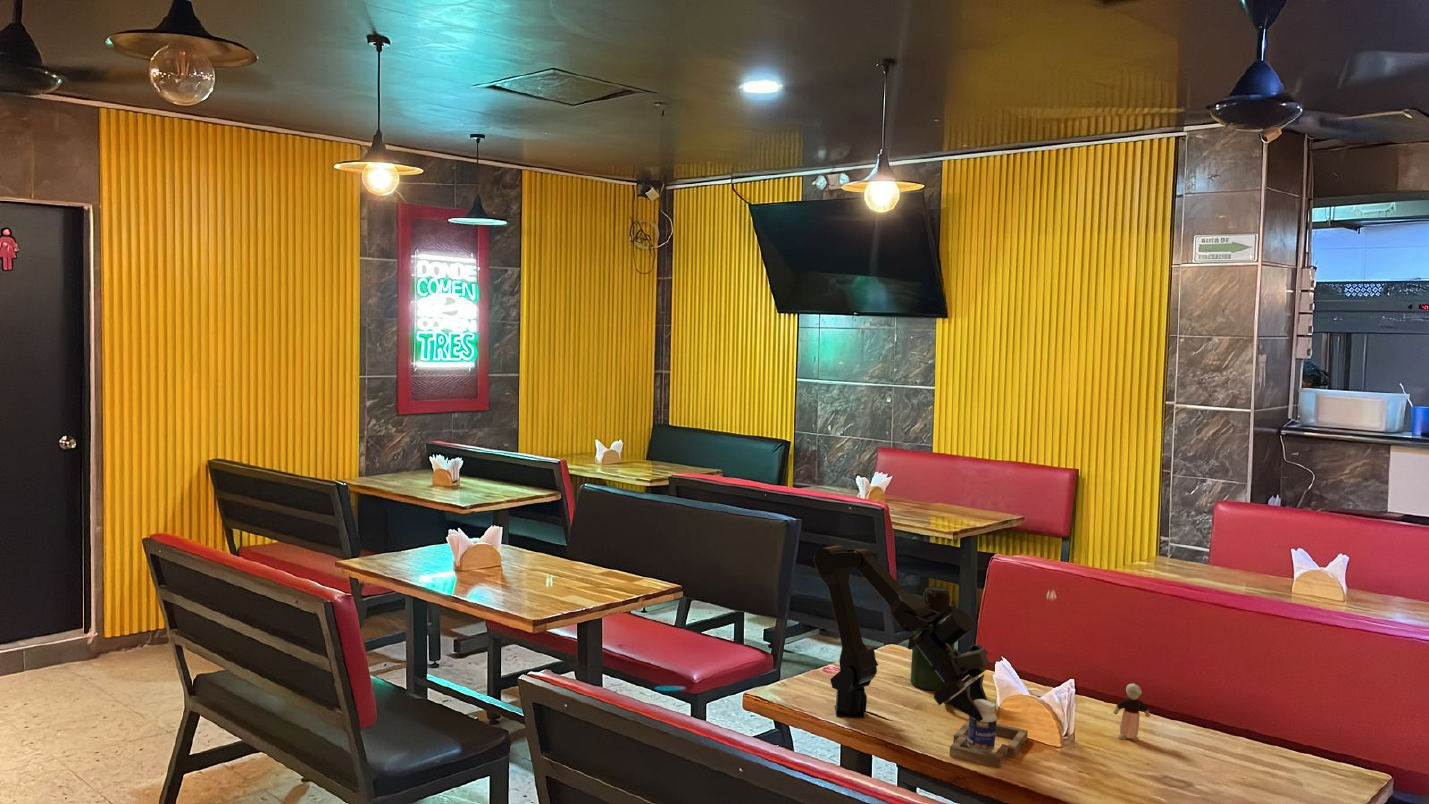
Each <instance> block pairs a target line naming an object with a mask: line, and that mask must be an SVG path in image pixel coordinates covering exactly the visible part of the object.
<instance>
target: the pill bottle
mask: <svg viewBox="0 0 1429 804" xmlns="http://www.w3.org/2000/svg"><path fill="white" fill-rule="evenodd" d="M973 702H974V703H975V705H976V707H977V708H978V710H979V712H980V714H981V715H982V717H983V719H982V720H981V721H977V720H975V719H974V718H972V717H970V716H969V715H968V720H969V726H968V738H967V747H969V748H970V749H973V750H977V751H981V752H991V751H994V749H995V746H996V745H995V743H996V735H995V734H996V724H997V722H998V721H997V720H998V717H997V715H996V714H995V710H996V703H995V702H993V701H990V700H988V699H987V700H984V699H976V700H974V701H973Z"/></svg>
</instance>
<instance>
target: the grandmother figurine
mask: <svg viewBox="0 0 1429 804" xmlns="http://www.w3.org/2000/svg"><path fill="white" fill-rule="evenodd" d="M1125 690H1126V694H1127V697H1124V698H1123V699H1121V700H1120V701H1119V702H1118V703H1117V704H1116V707H1115V708H1114V710H1113V712H1112V713H1113V714H1114V715H1118V714H1119V712H1120V711H1121V710H1122V709H1123V712H1122V716H1121V720H1120V721H1121V722H1120V727H1119V734H1118V735H1117V739H1120V740H1127V739H1129V740H1130V741H1133V742H1139V741H1138V740H1139V737H1138V735H1139V729H1140V728H1139V727H1140V711H1141V712H1143V714H1144V716H1145V718H1150V717H1151V714H1150V711H1149V707H1148V705H1147V704H1146V703H1144V702H1143V701H1142V700H1140V699H1138V698H1139V697H1140V696H1141V695H1142V693H1143V692H1142V691H1143V690H1142V689H1141V687H1140V686H1139V685H1138V684H1136V683H1129V684H1127V686H1126V688H1125Z"/></svg>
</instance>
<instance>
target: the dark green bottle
mask: <svg viewBox="0 0 1429 804" xmlns="http://www.w3.org/2000/svg"><path fill="white" fill-rule="evenodd" d="M949 592H950V591H949V590H948V589H947V588H945V587H942V586H938V585H937V586H934V585H933V586H932V585H930V586H927V587H926V588H925V589H924V591H923V595H922V601H923V602H924V603H925V604H927V605H928V606H929V607H930V609H931V610H933V611H935V612H938V613H940V614H941V613H942V612H943V611H944V610H945V609H946V608H947V607H948V606H950V603H951V602H950V601H951V596H950V593H949ZM925 629H928V630H932V629H934V628H933V626H930V627H927V628H923V629H919V630H916V631H913V632H912V635H913V634H915V635H918V634H919V633H921V632H922V631H923V630H925ZM948 645H949V646H950V647H951V649H952V650H953V651H954V650H955V643H954V644H953V645H950V644H948ZM950 647H949V648H950ZM911 650H912V651H911V665H910V683H911V684H912V685H913V686H914V687H917V688H920V689H922V690H928V691H937V690H938V689H939V688H941V687H942V685H941V684H942V683H944V682H943V680H942V679H941V678H940V676H939V675H938V674H937V672H936V671H933V672H931V670H930V669H929V668H931V667H932V666H931V664H930V663H929V662H928V660H927V659H926V658H925V656H924V655H923V654H922V652H921V651H920V650H919V648H918V647H917V645H916V646H915V647H913V648H912V649H911ZM930 662H931V661H930Z"/></svg>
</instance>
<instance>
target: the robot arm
mask: <svg viewBox="0 0 1429 804" xmlns="http://www.w3.org/2000/svg"><path fill="white" fill-rule="evenodd" d="M813 562H814V565H815V568H816V571H817V573H818V575H819V577H820V579H821V580H822V581H823V582H824V583H825V584H826V585H827V588H828V593H829V597H830V601H831V605H832V609H833V613H834V614H833V615H834V617H835V622H836V626H837V627H836V628H837V630H838V634H839V638H840V639H839V640H840V643H841V651H840V654H839V655H840V656H839V660H838V661H839V662H838V663H839V671H838V672H837V673H836V674H835V675H833V676H832V677H831V678H830V680H829V681H830V684H831V688H832V689H834V690H836V692H835V694H836V696H835V705H834V710H835V715H836V717H841V718H842V717H845V718H863V719H864V718H865V714H866V713H867V702H868V701H867V700H868V698H867V697H868V696H867V693H866V692H865V691H866V689H865V687H868V686H870V685H871V682H872V680H873V679H874V678H875V677H876V675H877V674H878V668H877V667H878V666H879V663H878V661H877V658H876V653H875V649H874V648H873V647H872V648H868V647H867V646H866V645H865V643H864V641H863V637H862V634H861V630H860V625H859V624H860V623H859V622H858V616H857V613H856V608H855V604H854V600H853V599H854V598H853V595H852V592H851V588H850V583H849V580H850V576H851V573H852V572H851V571H852V568H854V569H856V570H857V571H858V572H859V574H861V576H862V577H863V578H864V579H865V580H866V581H867V582H868V583H869V585H870V586H872V588H873V589H874V590H875V592H877V593H878V594H879V595H880V597H881V598H882V599H883V600H884V602H885V603H887V605H888V606H889V609H890V613H891V616H892V618H893V619H894V621H895V622H896V623H897V625H898V627H899V629H901V630H902V631H904V632H906V633H912V634H911V635H909V636H908V645H907V650H909V651H910V650H912V648H913V647H915V646H916V645H917V647H918V648H919V650H920V651H921V652H922V654H923V655H924V656H925V658H926V659H927V660H928V662H929V663H930V664H931V666H932V667H931V668H929V669H930V670H931V672H933V671H936V672H937V674H938V675H939V676H940V678H941V679H942V680H943V682H944V683H942V684H941V685H942V687H941V688H939V689H938V690H934V691H933V692H934V693H933V699H934V701H935V702H936V703H937V705H938V706H941V705H943V704H944V702H945V701H947V700H948V699H950V700H949V701H948V702H946V703H945V704H946V705H945V706H948V705H949V706H950V707H953V708H954V709H956V710H958V711H960V712H961V713H963V714H965V715H967V716H968V717H969V716H970V717H972V718H974V719H975V720H977V721H981V720H982V719H983V717H982V715H981V714H980V712H979V710H978V708H977V707H976V705H975V703H974V702H973V701H974V700H976V699H984V700H988V697H987V695H986V692H985V689H984V687H983V683H984V678H985V674H984V672H985V671H987V670H988V669H987V667H986V665H987V664H989V663H990V661H989V659H988V655H989V652H988V650H986V648H985V647H983V646H982V645H981V644H980V643H977V644H973V645H971V646H970V649H969V650H970V651H967V652H964V653H961V652H960V651H959V649H956V648H954V651H953V650H952V649H951V647H950V646H949V645H948V644H950V645H953V644H954V645H955V644H956V643H957V642H959V641H960V640H961V639H963V638H964V637H965V636H966V635H968V634H969V633H970V632H971V631H973V629H974V624H973V621H972V618H971V617H970V616H969V615H968V614H966V613H965V612H964V611H963V610H962V609H959V608H958V607H957V606H956V605H955V604H951V605H950V604H949V606H948V607H947V608H946V609H945V610H944V611H943V612H942V613H941V614H940V613H938V612H935V611H933V610H931V609H930V607H929V606H928V605H927V604H925V603H924V602H923V599H921V598H920V597H918V596H915V594H911V593H910V592H908V591H906V590H905V589H904V588H903V587H902V586H901V585H900V583H898V581H896V579H895V578H894V577H893V576H892V575H891V574H890V573H889V572H888V571H887V569H886V568H885V567H884V566H883V565H882V564H881V563H880V562H879V561H878V560H877V559H876V558H875V556H874V554H873V552H872V551H870V550H869V549H867V548H863V549H857V548H853V549H850V548H845V547H844V546H843V545H833V546H826V547H823V548H822V547H821V548H820V549H818V550H817V551H816V553H815V555H813ZM930 626H933V628H934V629H932V630H928V629H925V630H923V631H922V632H921V633H919V634H918V635H915V634H913V631H916V630H919V629H923V628H927V627H930ZM949 647H950V648H949ZM930 661H931V662H930ZM980 675H981V676H980Z"/></svg>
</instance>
